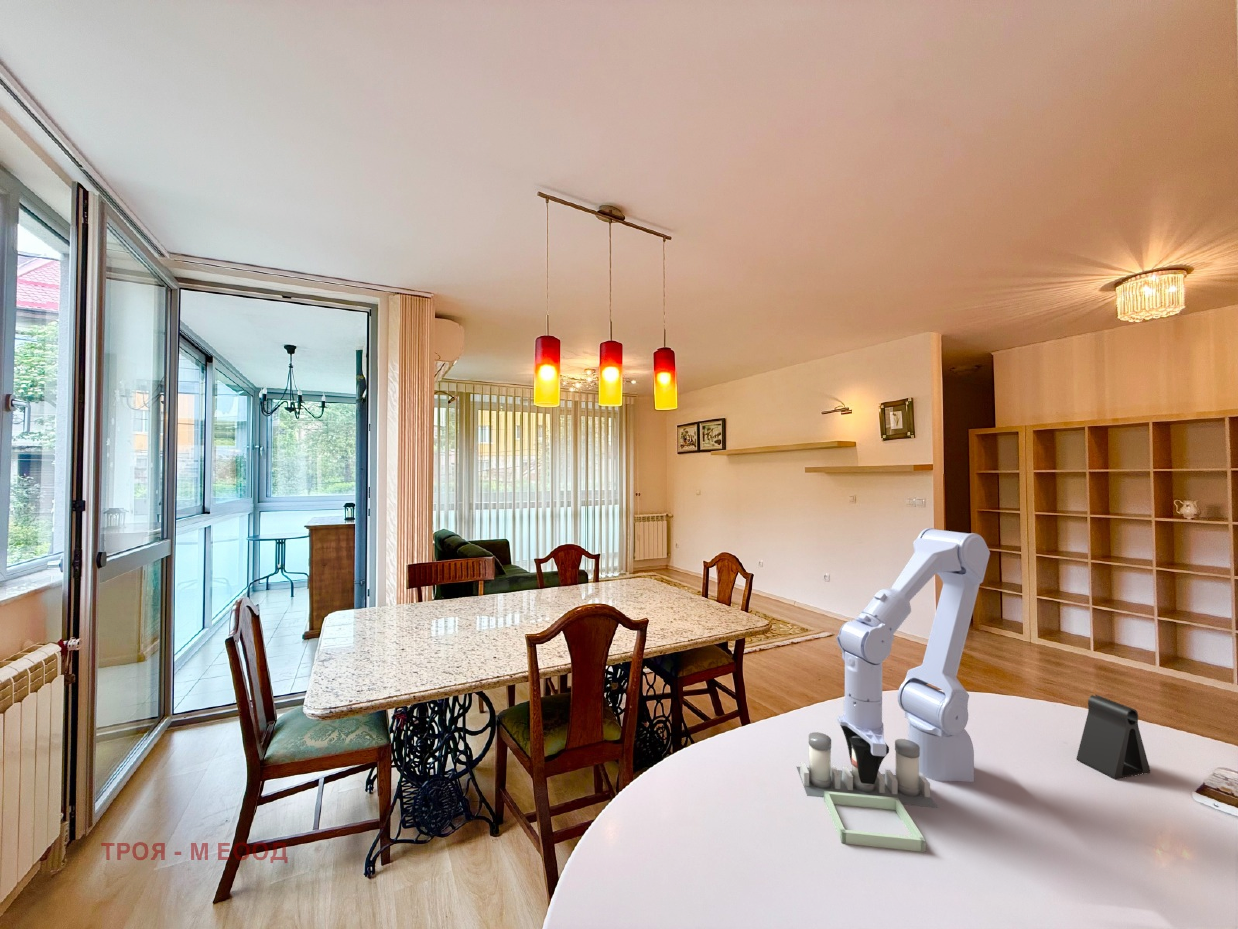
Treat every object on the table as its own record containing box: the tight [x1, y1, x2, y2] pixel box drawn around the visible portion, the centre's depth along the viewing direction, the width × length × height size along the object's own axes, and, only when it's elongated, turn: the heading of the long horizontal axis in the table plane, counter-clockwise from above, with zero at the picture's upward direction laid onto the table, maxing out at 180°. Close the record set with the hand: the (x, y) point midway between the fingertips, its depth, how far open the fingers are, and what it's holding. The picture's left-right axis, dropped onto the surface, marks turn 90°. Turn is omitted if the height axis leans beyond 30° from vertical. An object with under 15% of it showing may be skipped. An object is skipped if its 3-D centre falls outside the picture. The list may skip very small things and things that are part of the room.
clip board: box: [796, 762, 939, 809], centre depth 84 cm, size 20×8×3 cm, turn 82°
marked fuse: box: [851, 736, 875, 793], centre depth 84 cm, size 4×4×8 cm
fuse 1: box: [808, 731, 832, 789], centre depth 85 cm, size 4×4×8 cm
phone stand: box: [1076, 694, 1151, 780], centre depth 92 cm, size 9×6×12 cm, turn 103°
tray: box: [823, 791, 927, 853], centre depth 75 cm, size 11×9×3 cm
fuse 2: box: [894, 738, 920, 797], centre depth 83 cm, size 4×4×8 cm
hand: (862, 775), depth 84 cm, fingers closed on marked fuse, 3 cm apart
